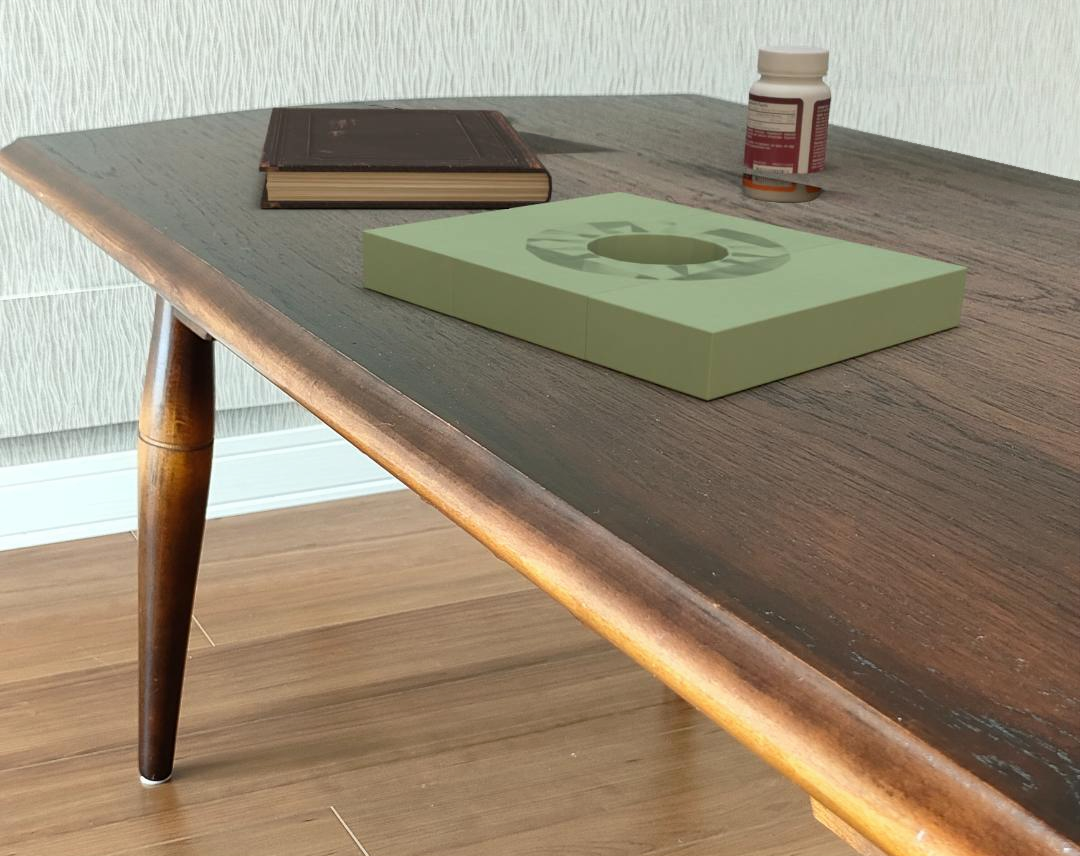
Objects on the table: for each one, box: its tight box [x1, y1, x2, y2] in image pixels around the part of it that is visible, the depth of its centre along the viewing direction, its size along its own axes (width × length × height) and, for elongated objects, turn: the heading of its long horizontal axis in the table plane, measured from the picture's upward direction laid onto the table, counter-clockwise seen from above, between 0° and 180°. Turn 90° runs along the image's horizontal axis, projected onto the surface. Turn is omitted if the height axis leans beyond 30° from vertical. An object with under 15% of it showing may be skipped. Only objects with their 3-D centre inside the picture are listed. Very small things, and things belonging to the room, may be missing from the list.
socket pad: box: [362, 191, 968, 401], centre depth 62 cm, size 20×16×2 cm
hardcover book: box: [258, 107, 553, 209], centre depth 90 cm, size 16×23×2 cm
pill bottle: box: [741, 45, 832, 203], centre depth 85 cm, size 5×5×8 cm
